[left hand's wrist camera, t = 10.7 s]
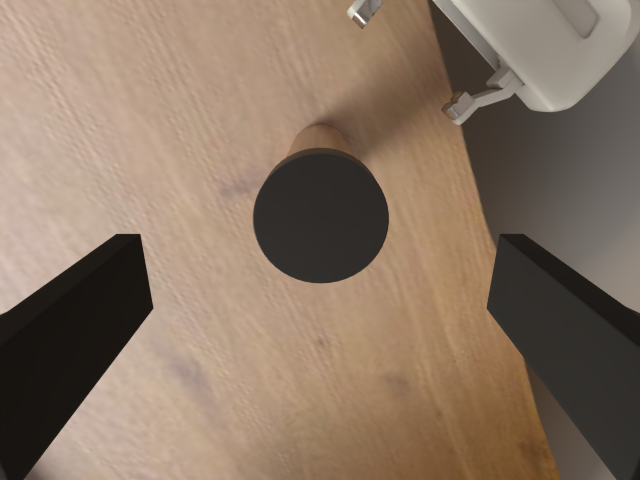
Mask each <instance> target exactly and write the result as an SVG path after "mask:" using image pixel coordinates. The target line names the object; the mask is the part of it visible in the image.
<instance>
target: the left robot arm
mask: <svg viewBox="0 0 640 480" xmlns="http://www.w3.org/2000/svg"><path fill="white" fill-rule="evenodd" d="M152 310H153V303H152V298H151V292H150V286H149V281H148V275H147V269H146V264H145V258H144V252H143V247H142V241H141V235H140V234H116V235H114V236H113V237H112V238H110V239H109V240H107V241H106V242H105V243H103V244H102V245H100V246H99V247H98V248H96V249H95V250H93V251H92V252H91V253H89V254H88V255H86V256H85V257H84V258H82V259H81V260H79V261H78V262H76V263H75V264H74V265H72V266H71V267H69V268H68V269H67V270H65V271H64V272H62V273H61V274H60V275H58V276H57V277H55V278H54V279H53V280H51V281H50V282H48V283H47V284H46V285H44V286H43V287H41V288H40V289H39V290H37V291H36V292H34V293H33V294H32V295H30V296H29V297H27V298H26V299H25V300H23V301H22V302H20V303H19V304H18V305H16V306H15V307H13V308H12V309H11V310H9V311H8V312H5V313H3V314H1V315H0V480H24V478H25V477H26V476H27V474H28V473H29V472H30V470H31V469H32V468H33V466H34V465H35V464H36V462H37V461H38V460H39V458H40V457H41V456H42V454H43V453H44V452H45V451H46V449H47V448H48V447H49V445H50V444H51V443H52V441H53V440H54V439H55V437H56V436H57V435H58V433H59V432H60V431H61V429H62V428H63V427H64V426H65V424H66V423H67V422H68V420H69V419H70V418H71V416H72V415H73V414H74V412H75V411H76V410H77V408H78V407H79V406H80V404H81V403H82V402H83V400H84V399H85V398H86V397H87V395H88V394H89V393H90V391H91V390H92V389H93V387H94V386H95V385H96V383H97V382H98V381H99V379H100V378H101V377H102V375H103V374H104V373H105V371H106V370H107V369H108V368H109V366H110V365H111V364H112V362H113V361H114V360H115V358H116V357H117V356H118V354H119V353H120V352H121V350H122V349H123V348H124V346H125V345H126V344H127V343H128V341H129V340H130V339H131V337H132V336H133V335H134V333H135V332H136V331H137V329H138V328H139V327H140V325H141V324H142V323H143V321H144V320H145V319H146V317H147V316H148V315H149V314H150V312H151V311H152ZM487 310H488V311H489V312H490V314H491V315H492V316H493V317H494V319H495V320H496V321H497V323H498V324H499V325H500V327H501V328H502V329H503V331H504V332H505V333H506V335H507V336H508V337H509V339H510V340H511V341H512V343H513V344H514V345H515V346H516V348H517V349H518V350H519V352H520V353H521V354H522V356H523V357H524V358H525V360H526V361H527V362H528V364H529V365H530V366H531V368H532V369H533V370H534V371H535V373H536V374H537V375H538V377H539V378H540V379H541V381H542V382H543V383H544V385H545V386H546V387H547V389H548V390H549V391H550V392H551V394H552V395H553V397H554V398H555V399H556V400H557V402H558V403H559V404H560V406H561V407H562V408H563V410H564V411H565V412H566V414H567V415H568V416H569V417H570V419H571V420H572V422H573V423H574V424H575V425H576V427H577V428H578V429H579V431H580V432H581V433H582V435H583V436H584V437H585V439H586V440H587V441H588V443H589V444H590V445H591V447H592V448H593V449H594V451H595V452H596V453H597V454H598V456H599V457H600V458H601V460H602V461H603V462H604V464H605V465H606V466H607V468H608V469H609V470H610V472H611V473H612V474H613V476H614V477H615V478H616V480H640V313H638V312H636V311H634V310H632V309H630V308H627V307H625V306H624V305H622V304H621V303H620V302H618V301H617V300H615V299H614V298H613V297H611V296H610V295H608V294H607V293H606V292H604V291H603V290H601V289H600V288H599V287H597V286H596V285H594V284H593V283H592V282H590V281H589V280H587V279H586V278H585V277H583V276H582V275H580V274H579V273H577V272H576V271H575V270H573V269H572V268H571V267H569V266H568V265H566V264H565V263H563V262H562V261H561V260H559V259H558V258H556V257H555V256H554V255H552V254H551V253H549V252H548V251H547V250H545V249H544V248H542V247H541V246H540V245H538V244H537V243H535V242H534V241H533V240H531V239H530V238H528V237H527V236H526V235H524V234H500V236H499V241H498V247H497V252H496V258H495V264H494V269H493V275H492V281H491V286H490V292H489V298H488V303H487Z"/></svg>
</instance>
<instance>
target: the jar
mask: <svg viewBox="0 0 640 480" xmlns="http://www.w3.org/2000/svg"><path fill="white" fill-rule="evenodd" d="M320 147H321V148H332V149H337V150H340V151H343V152H346V153H348V154H350V155H352V156H353V157H355V156H354V154H353V152H352V150H351V148H350V146H349V144H348V142H347V140H346V138H345V137H344V136H343V134H342V133H341V132H340V131H339V130H337V129H336V128H334V127H332V126H329V125H325V124H316V125H312V126H309V127H307V128H305V129H304V130H302V131H301V132H300V133H299V134H298V135H297V137H296V138H295V140H294V142H293V144H292V146H291V148H290V150H289V152H288V154H287V156H286V158H287V157H288V156H290V155H292V154H294V153H296V152H299V151H302V150H305V149H310V148H320ZM355 158H356V157H355Z"/></svg>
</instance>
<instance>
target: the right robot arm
mask: <svg viewBox="0 0 640 480" xmlns="http://www.w3.org/2000/svg"><path fill="white" fill-rule="evenodd" d="M433 1H434V2H435V4H436V5H437V6H438V7H439V8H440V9H441V10H442V11H443V13H444V14H445V15H446V16H447V17H448V18H449V19H450V20H451V22H452V23H453V24H454V25H455V26H456V27H457V28H458V29H459V30H460V32H461V33H462V34H463V35H464V36H465V37H466V38H467V39H468V41H469V42H470V43H471V44H472V45H473V46H474V47H475V48H476V49H477V51H478V52H479V53H480V54H481V55H482V56H483V57H484V58H485V60H486V61H487V62H488V63H489V64H490V65H491V66H492V67H493V68H494V70H495V71H496V72H495V74H494V75H493V76H492V77H491V78H490V79H489V80H488V81H487V82H486V84H487V86H488V87H489V88H491V89H490V90H487V91H484V92H481V93H479V94H476V95H473V96H470V95H469V94H468V93H467V92H466V91H463V92H461V91H457V92H456V93H455V94H454V95H453V97H452V98H451V99H450V102H449V103H446V104H445V105H444V106H443V107H442V109H441V111H442V112H443V113H444V114H445V115H446V116H447V117H448V118H449V119H450V120H451V121H452V122H453V123H454V124H456V125H460V124H462V123H463V122H464V121H465V120H466V119H467V118H468V117H469V116H470V115H471V114H472V113H473V112H474V111H475V110H476V109H477V108H478V107H482V106H485V105H488V104H491V103H494V102H497V101H500V100H503V99H506V98H510V97H511V96H512V95H513V94H514V93H516V94H517V95H518V96H519V98H520V99H521V100H522V101H523V102H524V103H525V104H526V105H527V107H528V108H530V109H531V110H535V111H543V112H556V111H561V110H565V109H568V108H570V107H572V106H573V105H575V104H576V103H577V102H578V101H579V100H581V99H582V98H583V97H584V96H585V95H586V94H587V93H588V92H589V91H590V90H591V89H592V88H593V87H594V86H595V85H596V84H597V83H598V82H599V81H600V80H601V79H602V78H603V77H604V76H605V74H606V73H607V72H608V71H609V70H610V69H611V68H612V67H613V66H614V64H615V63H616V62H617V61H618V60H619V59H620V58H621V57H622V55H623V54H624V53H625V52H626V51H627V49H628V48H629V47H630V46H631V44H632V43H633V41H634V40H635V38H636V37H637V35H638V33H639V32H640V0H433ZM382 4H383V2H382V1H381V0H355V1H354V3H353V4H352V5H351V7H350V8H349V10H348V11H347V15H348V16H349V17H350V18H351V19H352V20H353V21H354V22H355V23H356V24H357V25H358V26H359V27H360V28H361V29H363V28H364V26H365V25H366V24H367V23H368V22H369V20H370V19H371V17H372V16H373V15H374V14H375V13H376V12H377V10H378V9H379V8H380V7H381V5H382Z"/></svg>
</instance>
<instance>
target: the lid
mask: <svg viewBox="0 0 640 480" xmlns="http://www.w3.org/2000/svg"><path fill="white" fill-rule="evenodd" d="M388 224H389V213H388V206H387V202H386V199H385V196H384V194H383V192H382V189H381V188H380V186H379V184H378V183H377V181H376V180H375V178H374V176H373V175H372V173H371V172H370V171H369V169H368V168H367V167H366V166H365V165H364V164H363V163H362V162H360V161H359V160H358V159H356V158H355V157H353V156H352V155H350V154H348V153H346V152H343V151H340V150H337V149H332V148H321V147H320V148H310V149H305V150H302V151H299V152H296V153H294V154H292V155H290V156H288V157H287V158H285V159H284V160H282V161H281V162H280V163H279V164H278V165H277V166H276V167H275V168H274V169H273V170H272V171H271V173H270V174H269V176H268V177H267V179H266V181H265V182H264V184H263V186H262V187H261V189H260V191H259V193H258V196H257V198H256V201H255V205H254V211H253V227H254V233H255V236H256V240H257V242H258V244H259V246H260V248H261V250H262V252H263V253H264V255H265V256H266V257H267V259H268V260H269V261H270V262H271V263H272V264H273V265H274V266H275V267H276V268H278V269H279V270H280V271H282V272H283V273H285V274H287V275H288V276H291V277H293V278H295V279H298V280H301V281H305V282H310V283H331V282H337V281H340V280H344V279H346V278H349V277H351V276H353V275H355V274H357V273H358V272H360V271H361V270H363V269H364V268H365V267H366V266H368V265H369V264H370V263H371V262H372V261H373V259H374V258H375V257H376V256H377V254H378V253H379V251H380V249H381V248H382V246H383V243H384V241H385V239H386V235H387V231H388Z"/></svg>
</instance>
